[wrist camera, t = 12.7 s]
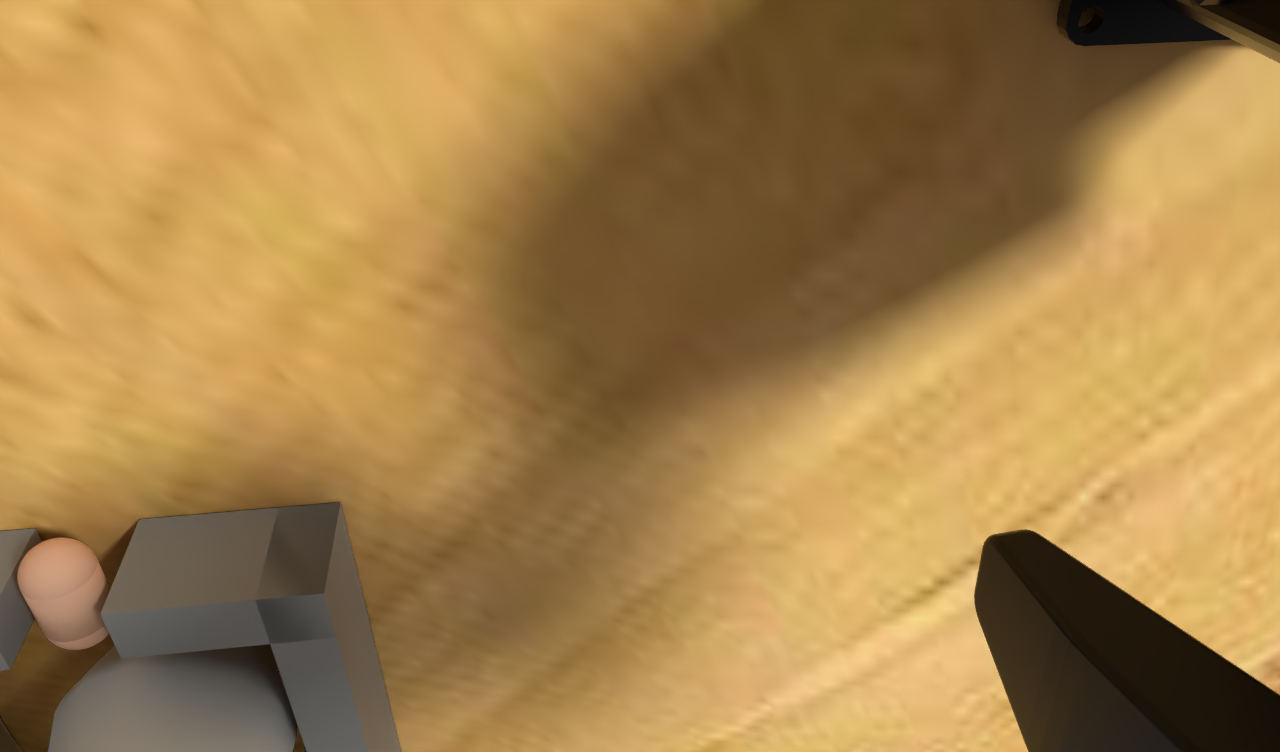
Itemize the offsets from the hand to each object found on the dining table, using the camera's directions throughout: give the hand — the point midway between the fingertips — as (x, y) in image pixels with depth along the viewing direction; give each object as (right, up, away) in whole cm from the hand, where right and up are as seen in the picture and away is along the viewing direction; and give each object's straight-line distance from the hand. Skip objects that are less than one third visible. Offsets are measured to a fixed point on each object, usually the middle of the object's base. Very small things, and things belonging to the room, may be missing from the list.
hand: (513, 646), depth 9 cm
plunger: (-12, -2, +14) cm, 19 cm away
